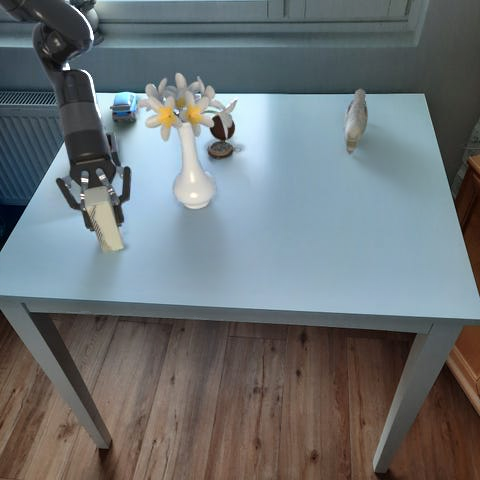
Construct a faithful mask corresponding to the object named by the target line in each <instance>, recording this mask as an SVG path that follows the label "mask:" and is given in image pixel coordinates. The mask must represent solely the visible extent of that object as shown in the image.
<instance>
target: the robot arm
mask: <svg viewBox="0 0 480 480" xmlns="http://www.w3.org/2000/svg"><path fill="white" fill-rule="evenodd" d="M0 8H1V9H2V11H4V12H5V13H6V14H7V15H8V16H9V17H11V19H13V20H14V21H16V22H18V23H20V24H21V23H24V24H25V23H32V22H35V23H36V24H35V25H34V27H33V28H32V34H31V44H32V47H33V50H34V53H35V55H36V58H37V59H38V61H39V62H40V64H41V66H42V69H43V70H44V72H45V74H46V76H47V78H48V80H49V82H50V85H51V87H52V88H53V93H54V97H55V103H56V106H57V110H58V116H59V124H60V129H61V133H62V137H63V138H62V139H63V141H64V146H65V150H66V154H67V159H68V162H69V170H68V171H69V172H68V174H66V175H65V176H63V177H57V178H56V179H55V183H56V185H57V187H58V189H59V191H60V192H61V194H62V195H63V197H64V199H65V201H66V202H67V205H68V206H69V208H70V209H72V210H74V211H79V212H81V215H82V219H83V223H84V227H85V228H86V230H89V231H90V232H91V233H93V232H95V230H94V228H93V225H92V222H91V219H90V217H89V214H88V212H87V209H86V207H85V201H84V190H88V189H91V188H96V187H101V186H104V187H108V191H109V194H110V198H111V200H112V202H113V205H114V206H113V209H114V214H115V218H116V223H117V226H118V227H121V228H122V227H123V224H124V223H125V215H124V212H123V204H124V203H126V202H129V201H130V200H131V188H132V169H131V167H130V166H128V165H126V166H121V167H119V166H116V165H115V164H114V162H113V161H112V157H111V153H110V148H109V144H108V139H107V135H106V133H107V128H106V125H105V122H104V118H103V114H102V113H101V110H100V109H101V108H100V106H99V102H98V98H97V93H96V88H95V84H94V81H93V78H92V77H91V74H90V73H89V72H87V71H86V70H83V69H80V68H70V64H69V62H70V61H73V60H75V59H77V58H79V57H81V56H84V55H85V54H87V53H88V52H89V51H91V50H92V48H93V46H94V33H93V30H92V27H91V25H90V23H89V22H88V20H87V19H86V17H85V16H84V14H82V12H80V11H79V9H77V8H76V7H75V6H74V5H72V4H71V3H70V2H68V1H66V0H0ZM37 22H38V23H37ZM116 174H118V175H119V178H120V179H121V180H122V189H121V194H120V195H118V194H117V192H116V190H115V188H114V186H113V185H112V184H113V181H114V179H115V177H116ZM72 181H73V182H75V183H76V184H77V186H79V187H80V202H78V201H77V199H76V198H75V196H74V194H73V192H72V191H71V189H72V186H73V185H72Z"/></svg>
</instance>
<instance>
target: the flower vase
mask: <svg viewBox="0 0 480 480" xmlns="http://www.w3.org/2000/svg"><path fill="white" fill-rule="evenodd" d="M174 79H175V85H176V87H175V86H173V85H167V82H168V78H167V77H164V78H163V79H162V80H161V81H160V82H159V85H158V87H156V86H155V85H154V84H152V83H148V84H147V85H146V86H145V90H144V91H145V94H146V97H148V98H144V99H142V100H140V101H138V102H139V103H138V104H137V105H136V108H137V109H141V108H145V112H146V113H148V112H150V111H153V112H154V113H155V114H153V115H150V116H148V117H147V119H146V120H145V123H144V124H145V127H146V128H148V129H157V128H159V127H160V137H161V139H162V141H163V142H166V143H167V142H168V141H169V140H170V136H171V132H172V131H171V130H172V128H174V129H176V131H177V134H178V137H179V143H180V149H181V150H180V151H181V160H182V162H181V163H182V164H181V168H180V169H181V170H180V172H179V173H178V174H177V175H176V176H175V178H174V180H173V183H172V187H171V188H172V194H173V195H174V198H175V199H176V200H177V201H179V202H180V203H182V204H183V206H184V207H186V208H188V209H190V210H199V209H203V208H205V207H207V206H208V205H209V204H210V203H211V200H212V199H213V198H214V196H215V194H216V193H217V189H218V186H217V181H216V179H215V177H214V176H213V174H212V173H211V172H209V171H208V170H207V169H204V167H203V166H202V164H201V161H200V159H199V154H198V153H199V152H198V149H197V148H198V147H197V141H196V138H199V137H200V136H201V132H202V128H201V126H204V127H206V128H209V127H210V128H211V127H213V126H214V122H213V120H212V117H210V116H209V115H207V114H213V115H219V116H220V118H221V121H222V124H223V127H224V131H225V135H226V140H225V141H228V140H227V137H228V128H229V127H231V126H232V120H233V115H232V114H230V113H232V112H233V111H234V109H235V107H236V106H237V103H238V98H237V97H235V98H234V99H233V100H232V101H231V102H230V103H229V104H228V105H227V106H225V105H224V103H222V102H220V101H218V100H216V99H215V97H216V92H215V88H213V86H211V85H208V86H206V88H205V84H204V83H203V81H202V79H201V78H200V76H198V75H197V76H196V79H197V81H194V82H191V83H190V84H189V85H188V83H187V81H186V78H185V76H184V75H183V74H182V73H180V72H176V73H175V76H174ZM199 92H200V95H199V94H198V93H199ZM197 94H198V95H197ZM164 98H165V100H164ZM208 107H210V108H214V109H217V110H219V111H216V110H209V109H208ZM175 110H177V111H178V112H176V111H175Z"/></svg>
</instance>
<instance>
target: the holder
mask: <svg viewBox="0 0 480 480" xmlns="http://www.w3.org/2000/svg"><path fill="white" fill-rule="evenodd" d="M106 135H107V139H108V144H109V148H110V153H111V157H112V161H113V162H114V164H115V165H116V166H119V167H122V162H121V153H120V146H119V143H118V139H117V135H116V132H115V131H111V132H106Z"/></svg>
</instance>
